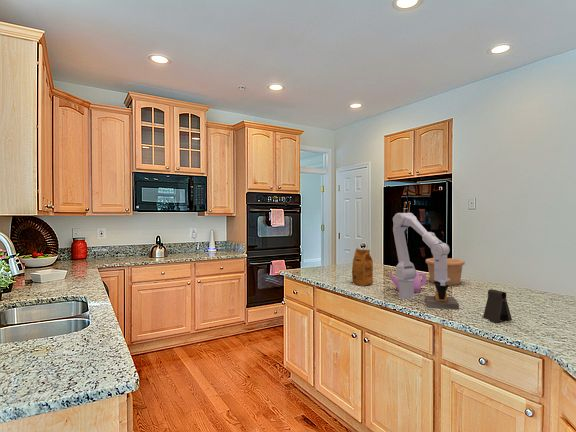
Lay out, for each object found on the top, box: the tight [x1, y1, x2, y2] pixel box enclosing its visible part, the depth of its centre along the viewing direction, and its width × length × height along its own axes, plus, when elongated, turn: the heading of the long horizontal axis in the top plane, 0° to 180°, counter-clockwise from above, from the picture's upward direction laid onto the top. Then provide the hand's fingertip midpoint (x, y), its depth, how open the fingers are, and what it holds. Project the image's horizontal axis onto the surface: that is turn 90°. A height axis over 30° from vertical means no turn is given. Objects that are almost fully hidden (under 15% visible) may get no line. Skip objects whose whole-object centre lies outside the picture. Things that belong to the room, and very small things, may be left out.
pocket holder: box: [424, 295, 460, 311], centre depth 162 cm, size 13×13×3 cm
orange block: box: [434, 290, 448, 301], centre depth 162 cm, size 4×4×6 cm
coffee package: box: [351, 248, 374, 287], centre depth 214 cm, size 10×12×22 cm
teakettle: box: [387, 270, 428, 294], centre depth 197 cm, size 17×17×12 cm
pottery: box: [425, 257, 465, 287], centre depth 212 cm, size 22×22×14 cm
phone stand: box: [482, 288, 513, 324], centre depth 141 cm, size 9×6×12 cm, turn 110°
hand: (441, 297), depth 162 cm, fingers closed on orange block, 4 cm apart
